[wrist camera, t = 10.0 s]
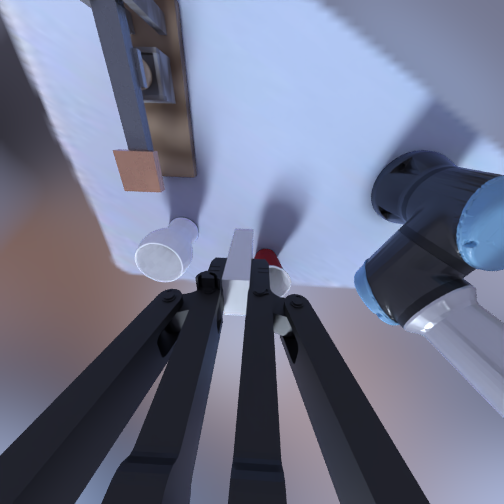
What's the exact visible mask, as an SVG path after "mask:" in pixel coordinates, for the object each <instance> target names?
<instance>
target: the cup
mask: <svg viewBox="0 0 504 504" xmlns="http://www.w3.org/2000/svg"><path fill="white" fill-rule="evenodd" d="M198 235H199V232H198V228H197V226H196V225H195V224H194V223H193V222H192V221H191V220H189V219H187V218H183V217H180V218H175V219H174V220H172V221H171V223H170V224H169V226H168V228H162V229H159V230H156V231H153V232H151V233H150V234H148V235H147V236H146V237H145V238H144V239H143V240H142V241H141V243H140V244H139V246H138V248H137V250H136V253H135V262H136V264H137V266H138V268H139V269H140V271H141V272H142V273H143V274H144V275H146V276H147V277H149V278H151V279H153V280H156V281H160V282H171V281H174V280H176V279H177V278H179V277H180V276H181V275H182V274H183V273H184V272H185V271H186V270H187V269H188V267H189V265H190V263H191V261H192V252H193V248H192V244H193V243H194V242H195V241H196V240H197V238H198Z"/></svg>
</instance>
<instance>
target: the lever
mask: <svg viewBox="0 0 504 504" xmlns="http://www.w3.org/2000/svg"><path fill="white" fill-rule="evenodd" d="M90 4H91V8H92V12H93V16H94V19H95V23H96V27H97V31H98V35H99V38H100V42H101V46H102V50H103V54H104V58H105V61H106V65H107V69H108V73H109V77H110V80H111V84H112V88H113V92H114V96H115V100H116V103H117V107H118V111H119V115H120V119H121V122H122V126H123V130H124V134H125V138H126V142H127V145H128V149H129V150H122V149H118V150H113V153H114V156H115V160H116V163H117V166H118V170H119V173H120V176H121V180H122V183H123V186H124V190H125V191H139V192H162V191H164V190H165V188H164V183H163V178H162V172H161V167H160V162H159V157H158V152H157V151H154V149H153V144H152V139H151V134H150V130H149V125H148V120H147V115H146V110H145V105H144V100H143V95H142V90H141V88H147V82H146V77H145V72H144V67H143V61H142V56H141V51H140V50H138V49H137V48H133V46H132V41H131V36H130V31H129V27H128V22H127V17H126V12H125V7H124V2H123V0H90Z"/></svg>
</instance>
